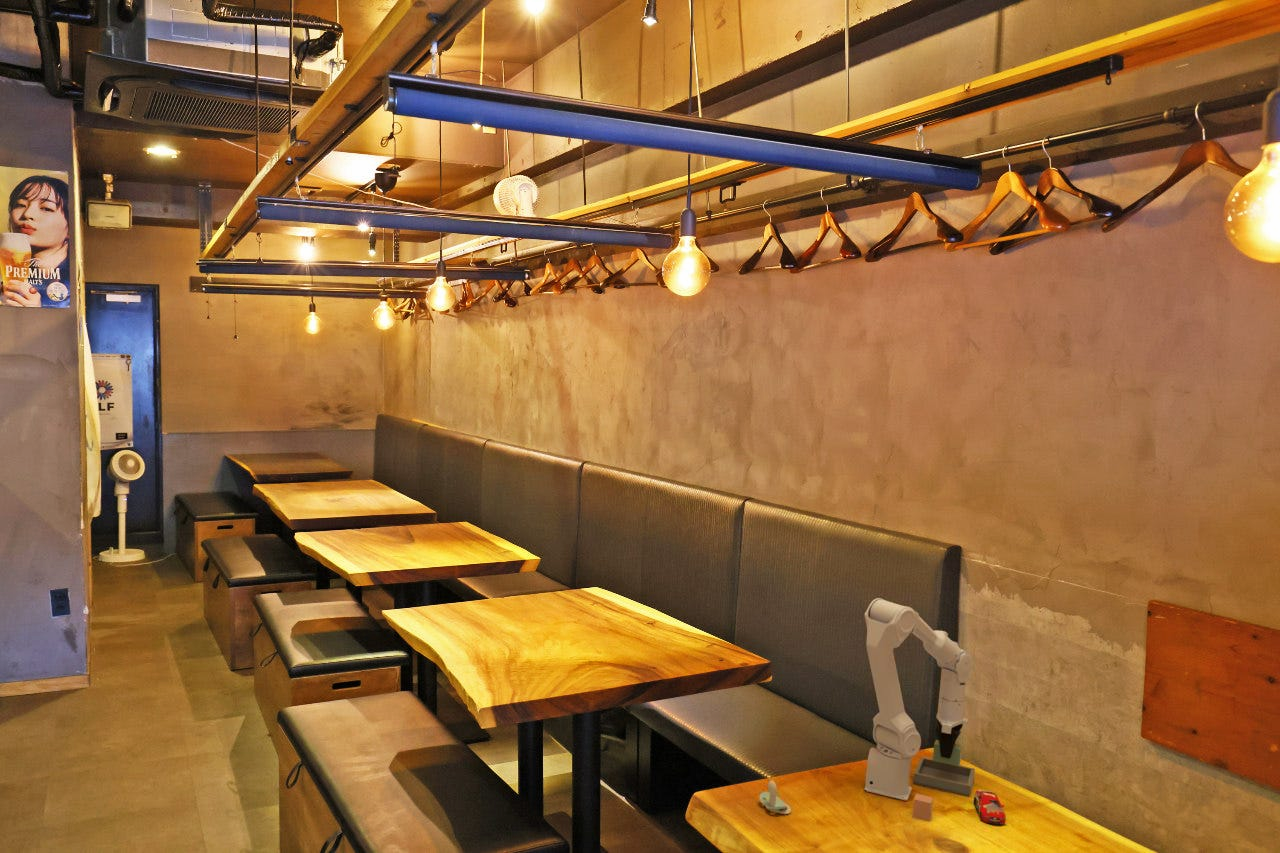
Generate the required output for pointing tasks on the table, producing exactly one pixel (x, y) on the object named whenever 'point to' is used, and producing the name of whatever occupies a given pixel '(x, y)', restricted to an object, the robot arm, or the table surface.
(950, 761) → the green long brick
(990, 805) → the race car
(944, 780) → the gray tray
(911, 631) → the robot arm
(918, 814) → the terracotta square brick
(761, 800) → the pacifier
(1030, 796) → the table surface
